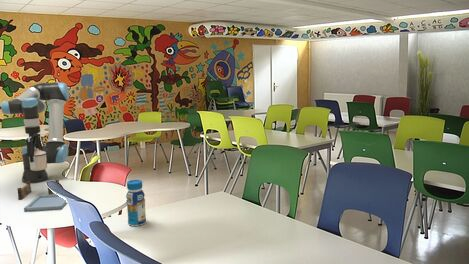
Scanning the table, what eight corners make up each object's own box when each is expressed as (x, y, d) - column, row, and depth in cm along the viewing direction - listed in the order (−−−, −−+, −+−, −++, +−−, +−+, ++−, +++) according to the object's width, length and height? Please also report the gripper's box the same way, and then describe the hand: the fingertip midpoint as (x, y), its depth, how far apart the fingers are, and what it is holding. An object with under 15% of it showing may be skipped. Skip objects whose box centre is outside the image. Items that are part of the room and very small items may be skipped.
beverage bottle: (126, 221, 186) (124, 180, 182) (145, 218, 189) (142, 177, 185) (128, 228, 178) (125, 185, 174) (147, 225, 181) (145, 182, 177)
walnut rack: (28, 191, 233) (27, 181, 231) (59, 190, 234) (58, 179, 233) (18, 199, 219) (17, 188, 218) (51, 198, 221) (50, 186, 220)
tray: (38, 198, 220) (38, 195, 220) (72, 196, 222) (72, 193, 222) (24, 211, 200) (23, 208, 200) (61, 209, 202) (61, 206, 202)
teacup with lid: (51, 168, 225) (49, 148, 223) (35, 171, 218) (33, 151, 216) (39, 165, 232) (37, 145, 230) (24, 168, 225) (21, 148, 223)
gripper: (32, 123, 230) (36, 161, 234) (16, 129, 209) (21, 170, 213) (46, 122, 231) (50, 160, 235) (31, 128, 209) (36, 170, 213)
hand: (36, 165), depth 224 cm, fingers closed on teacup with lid, 9 cm apart
